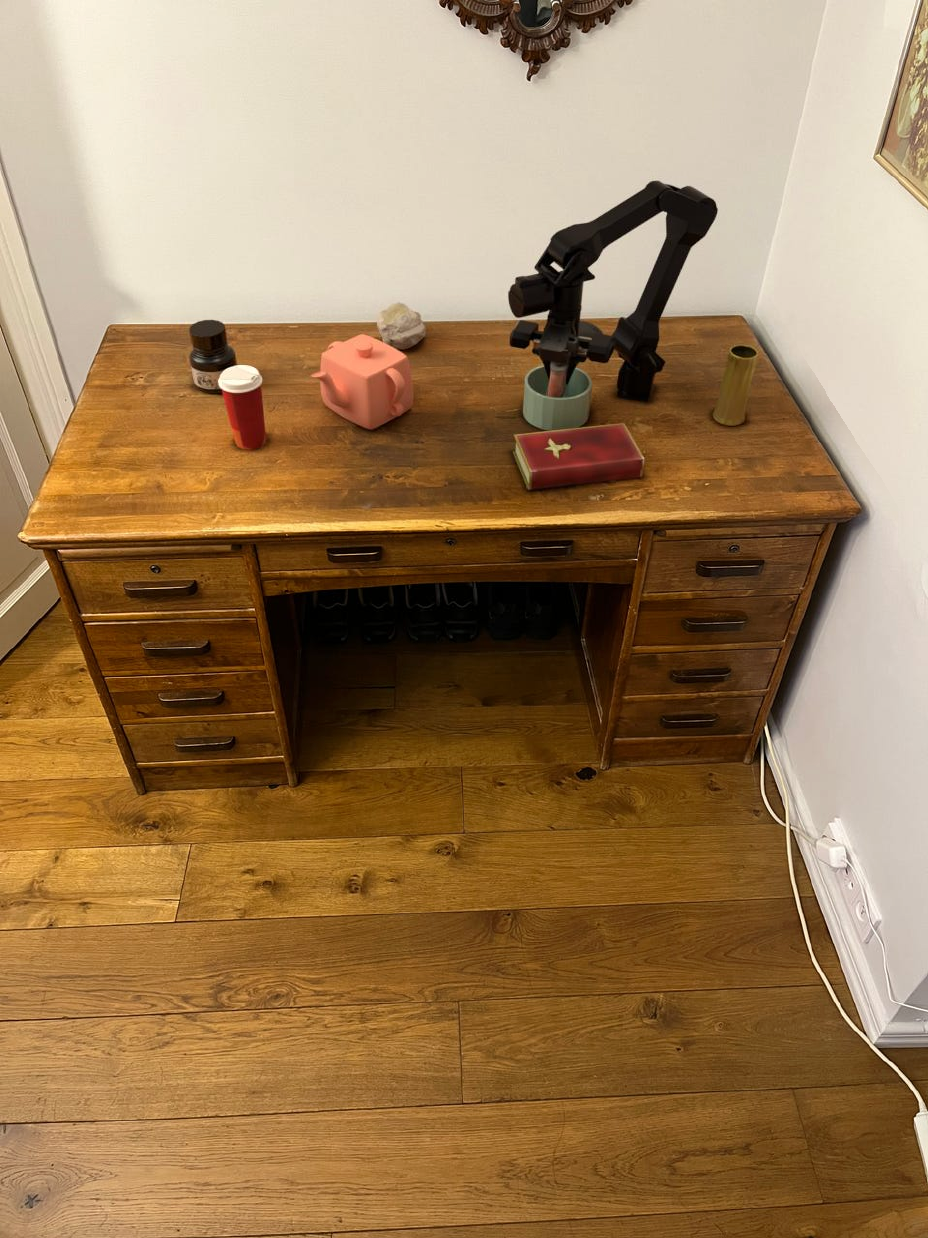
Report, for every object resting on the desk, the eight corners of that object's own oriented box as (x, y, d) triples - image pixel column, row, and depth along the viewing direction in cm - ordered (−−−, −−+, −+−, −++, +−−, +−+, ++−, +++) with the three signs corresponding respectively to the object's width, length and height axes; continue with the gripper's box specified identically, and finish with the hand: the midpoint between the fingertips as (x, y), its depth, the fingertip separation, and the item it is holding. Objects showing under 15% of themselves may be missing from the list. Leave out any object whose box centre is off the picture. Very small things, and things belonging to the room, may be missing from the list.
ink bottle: (184, 388, 196) (172, 333, 188) (208, 367, 202) (198, 313, 193) (226, 398, 193) (216, 343, 185) (249, 377, 199) (240, 322, 191)
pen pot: (595, 402, 194) (599, 370, 189) (579, 436, 185) (582, 404, 180) (533, 390, 197) (535, 358, 192) (514, 423, 188) (516, 391, 183)
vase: (747, 413, 192) (764, 347, 182) (740, 429, 188) (756, 362, 178) (717, 406, 193) (731, 340, 183) (709, 421, 189) (723, 355, 179)
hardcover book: (642, 478, 176) (645, 458, 173) (528, 491, 173) (530, 471, 170) (621, 440, 184) (624, 421, 181) (512, 452, 181) (513, 433, 178)
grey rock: (432, 332, 214) (387, 332, 215) (428, 294, 208) (382, 295, 210) (422, 356, 204) (375, 356, 206) (418, 317, 199) (370, 317, 201)
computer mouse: (604, 350, 208) (606, 333, 206) (551, 349, 208) (552, 332, 206) (601, 335, 213) (603, 318, 210) (550, 334, 213) (551, 317, 210)
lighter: (561, 406, 185) (568, 359, 178) (543, 403, 186) (550, 356, 178) (567, 384, 191) (574, 337, 184) (549, 381, 191) (556, 334, 184)
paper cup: (278, 434, 185) (268, 367, 175) (259, 456, 180) (248, 389, 170) (241, 426, 187) (229, 360, 177) (221, 448, 181) (208, 381, 172)
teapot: (284, 415, 190) (275, 350, 180) (358, 376, 200) (353, 313, 190) (354, 456, 180) (349, 390, 170) (428, 414, 190) (427, 349, 180)
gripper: (501, 316, 172) (499, 394, 183) (605, 334, 168) (596, 413, 179) (520, 289, 180) (516, 365, 191) (620, 305, 175) (610, 382, 186)
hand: (558, 381), depth 186 cm, fingers closed on lighter, 3 cm apart
